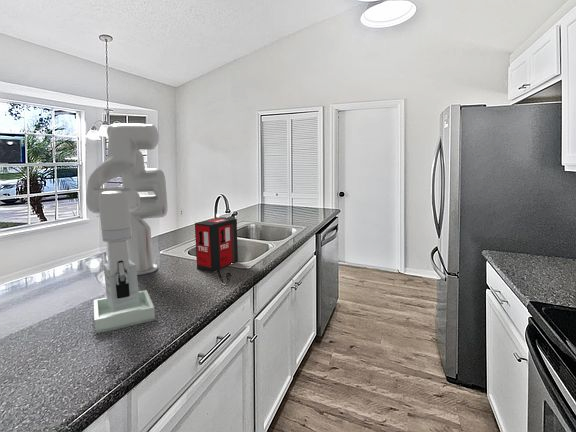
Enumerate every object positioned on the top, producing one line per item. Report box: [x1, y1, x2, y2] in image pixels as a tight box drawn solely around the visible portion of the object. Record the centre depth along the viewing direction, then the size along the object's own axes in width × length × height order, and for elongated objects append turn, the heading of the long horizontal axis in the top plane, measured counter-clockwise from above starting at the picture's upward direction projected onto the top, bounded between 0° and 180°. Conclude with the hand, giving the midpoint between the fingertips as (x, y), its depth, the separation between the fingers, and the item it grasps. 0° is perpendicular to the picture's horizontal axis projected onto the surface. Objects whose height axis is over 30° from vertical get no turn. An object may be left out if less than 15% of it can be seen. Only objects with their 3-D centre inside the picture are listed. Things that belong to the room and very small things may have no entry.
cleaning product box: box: [194, 216, 239, 273], centre depth 145 cm, size 16×9×20 cm, turn 150°
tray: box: [93, 289, 156, 334], centre depth 99 cm, size 15×15×4 cm
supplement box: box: [102, 260, 140, 312], centre depth 98 cm, size 7×7×13 cm
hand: (122, 291), depth 98 cm, fingers closed on supplement box, 8 cm apart
